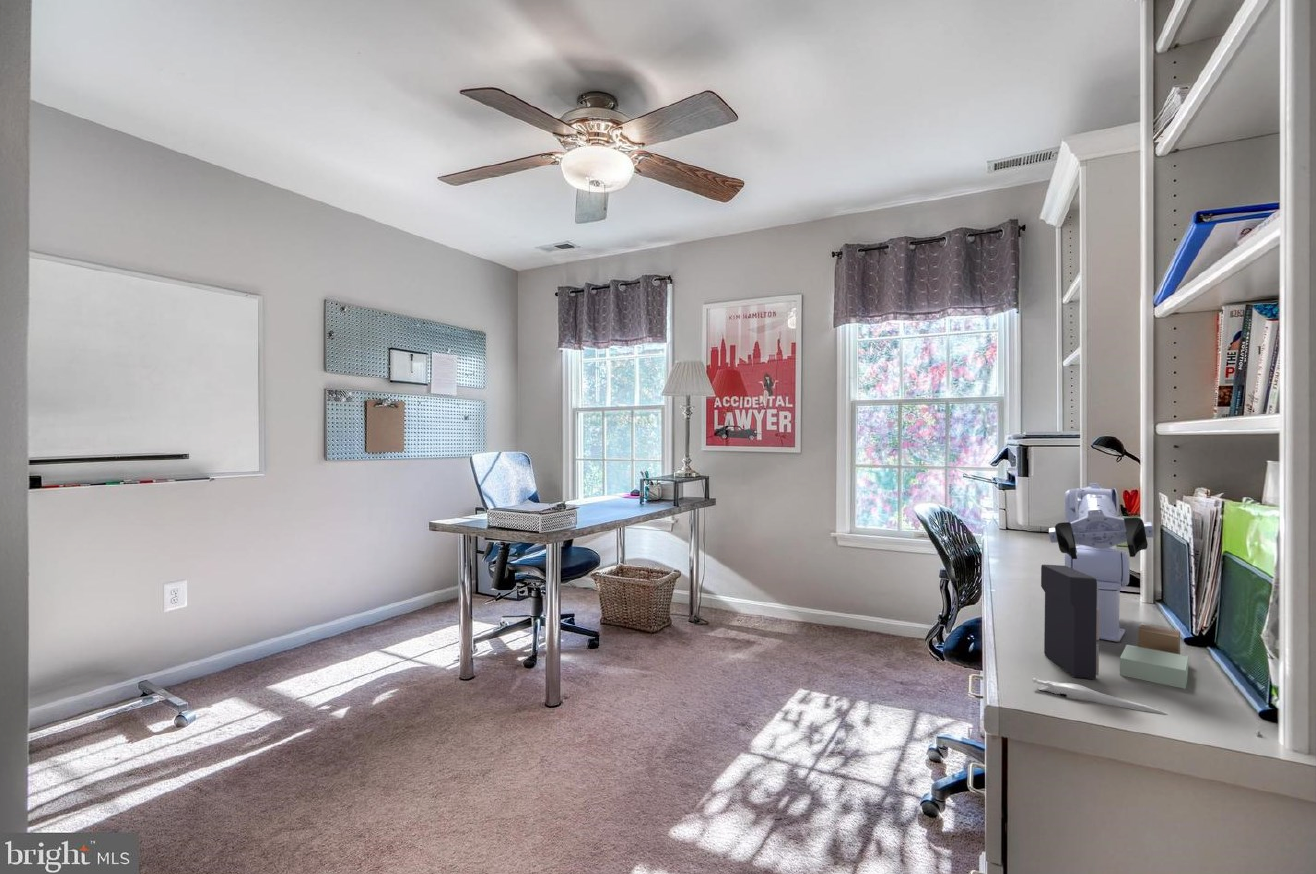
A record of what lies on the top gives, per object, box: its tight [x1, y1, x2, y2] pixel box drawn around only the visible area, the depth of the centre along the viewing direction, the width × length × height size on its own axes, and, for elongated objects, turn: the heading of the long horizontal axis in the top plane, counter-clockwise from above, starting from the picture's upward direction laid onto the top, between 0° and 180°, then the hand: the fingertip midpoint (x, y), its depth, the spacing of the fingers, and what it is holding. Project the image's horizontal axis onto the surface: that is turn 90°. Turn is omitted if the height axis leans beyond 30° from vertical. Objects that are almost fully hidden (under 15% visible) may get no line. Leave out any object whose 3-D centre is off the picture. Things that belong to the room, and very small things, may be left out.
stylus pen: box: [1032, 677, 1168, 715], centre depth 84 cm, size 15×3×2 cm, turn 58°
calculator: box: [1040, 564, 1100, 680], centre depth 97 cm, size 11×4×15 cm, turn 168°
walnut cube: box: [1137, 624, 1181, 654], centre depth 101 cm, size 5×5×5 cm
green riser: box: [1119, 644, 1189, 690], centre depth 95 cm, size 9×8×3 cm
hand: (1101, 552), depth 99 cm, fingers open, 7 cm apart
